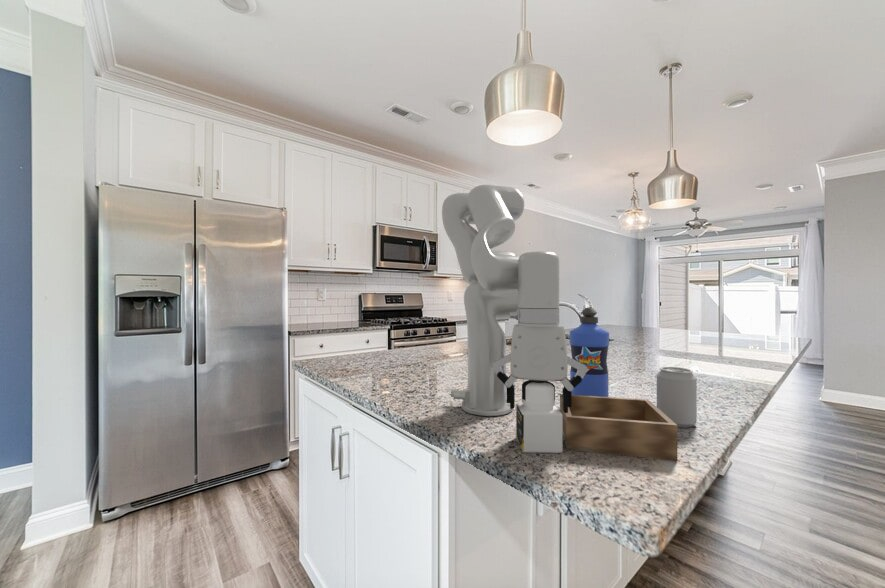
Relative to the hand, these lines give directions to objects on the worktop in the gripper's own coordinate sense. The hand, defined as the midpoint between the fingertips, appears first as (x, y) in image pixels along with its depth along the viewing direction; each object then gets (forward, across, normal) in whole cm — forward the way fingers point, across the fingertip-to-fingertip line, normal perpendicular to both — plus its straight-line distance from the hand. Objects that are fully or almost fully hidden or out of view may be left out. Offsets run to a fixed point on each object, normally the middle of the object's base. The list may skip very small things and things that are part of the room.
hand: (538, 408), depth 69 cm
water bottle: (+7, +13, +28) cm, 32 cm away
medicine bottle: (+7, 0, 0) cm, 7 cm away
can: (+7, +30, +20) cm, 37 cm away
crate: (+7, +14, +7) cm, 17 cm away
